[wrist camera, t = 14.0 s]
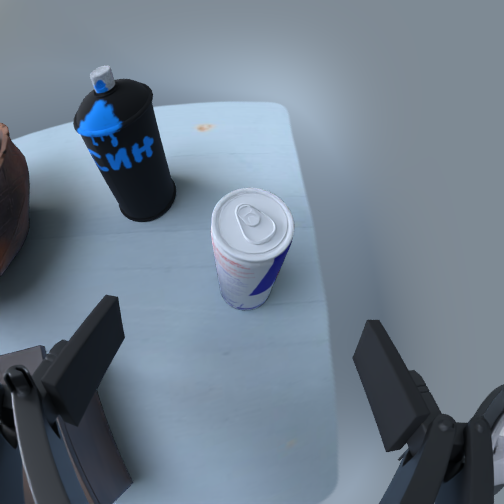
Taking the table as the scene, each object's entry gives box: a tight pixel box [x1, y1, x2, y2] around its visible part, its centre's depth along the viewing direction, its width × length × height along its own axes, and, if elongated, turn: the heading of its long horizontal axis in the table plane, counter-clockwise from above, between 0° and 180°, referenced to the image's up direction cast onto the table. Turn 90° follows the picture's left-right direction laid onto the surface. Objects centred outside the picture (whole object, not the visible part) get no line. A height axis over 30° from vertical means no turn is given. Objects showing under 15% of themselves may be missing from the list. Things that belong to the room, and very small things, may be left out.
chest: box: [64, 390, 133, 504], centre depth 19 cm, size 16×13×9 cm
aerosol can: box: [73, 66, 176, 222], centre depth 27 cm, size 8×8×20 cm
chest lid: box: [0, 345, 99, 504], centre depth 15 cm, size 16×13×1 cm
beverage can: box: [211, 188, 294, 310], centre depth 25 cm, size 6×6×15 cm
